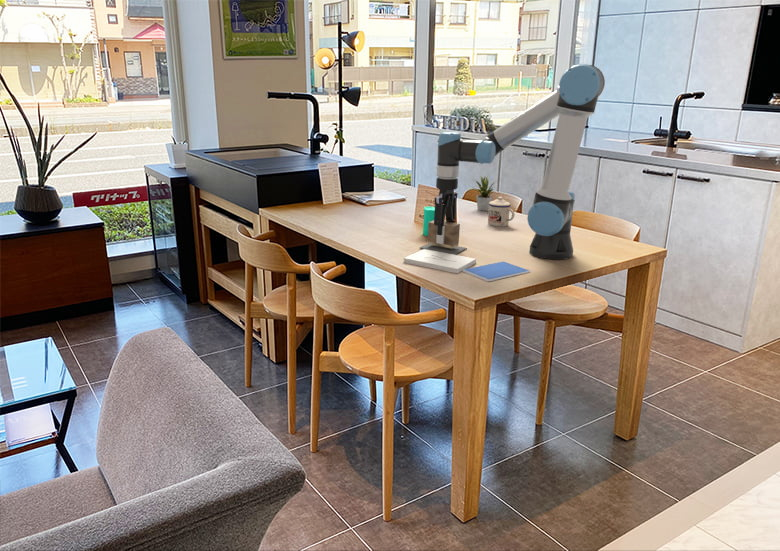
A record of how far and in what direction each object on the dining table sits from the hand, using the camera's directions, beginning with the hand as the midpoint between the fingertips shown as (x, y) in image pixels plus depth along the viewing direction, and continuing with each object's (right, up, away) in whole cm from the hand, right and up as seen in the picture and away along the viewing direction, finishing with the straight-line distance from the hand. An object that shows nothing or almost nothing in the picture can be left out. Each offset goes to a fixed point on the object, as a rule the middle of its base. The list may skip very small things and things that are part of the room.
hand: (443, 241), depth 228 cm
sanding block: (0, -1, 0) cm, 1 cm away
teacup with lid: (+28, +9, +40) cm, 49 cm away
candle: (-4, +4, +21) cm, 22 cm away
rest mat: (0, -3, +1) cm, 3 cm away
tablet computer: (+15, -12, -23) cm, 30 cm away
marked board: (-3, -8, -16) cm, 18 cm away
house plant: (+23, +19, +69) cm, 75 cm away
